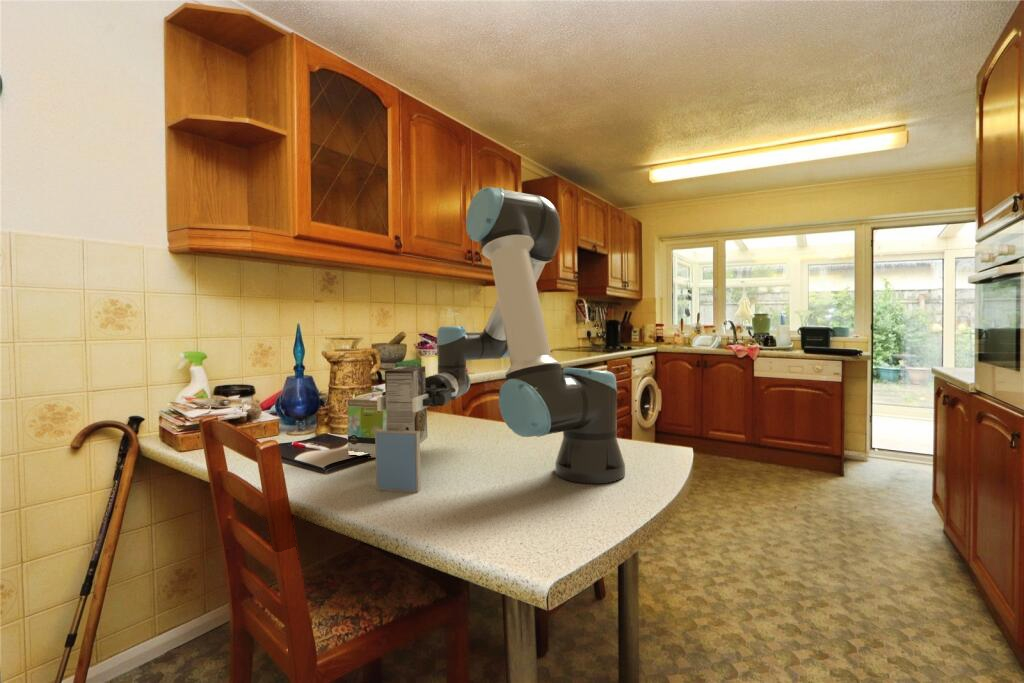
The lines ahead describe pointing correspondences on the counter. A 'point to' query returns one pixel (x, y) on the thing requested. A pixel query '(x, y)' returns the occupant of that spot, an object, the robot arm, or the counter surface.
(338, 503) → the counter surface
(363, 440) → the tea box
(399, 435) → the grey flat piece
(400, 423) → the coffee box
